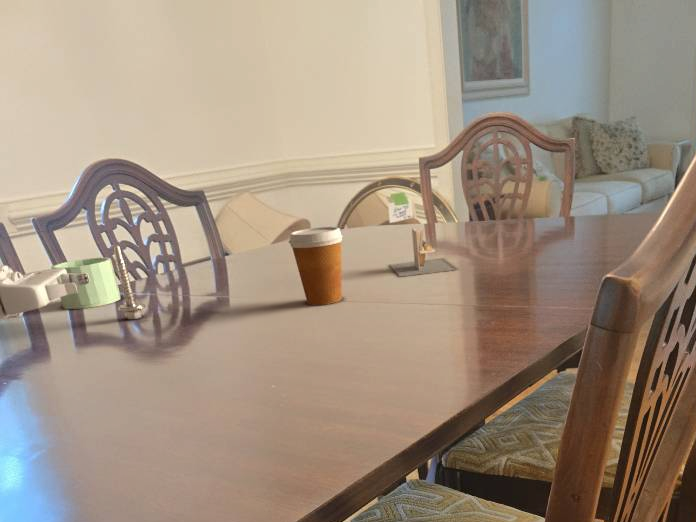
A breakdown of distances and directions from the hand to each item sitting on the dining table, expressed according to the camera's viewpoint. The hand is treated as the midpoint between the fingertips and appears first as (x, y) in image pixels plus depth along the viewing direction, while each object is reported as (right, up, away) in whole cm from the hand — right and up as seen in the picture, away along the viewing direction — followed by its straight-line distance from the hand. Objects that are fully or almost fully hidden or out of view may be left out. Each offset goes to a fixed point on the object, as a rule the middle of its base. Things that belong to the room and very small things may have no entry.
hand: (82, 282), depth 138 cm
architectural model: (+62, +11, +23) cm, 66 cm away
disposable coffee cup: (+44, -3, +1) cm, 44 cm away
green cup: (-7, +3, +23) cm, 24 cm away
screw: (+8, -5, +4) cm, 10 cm away
